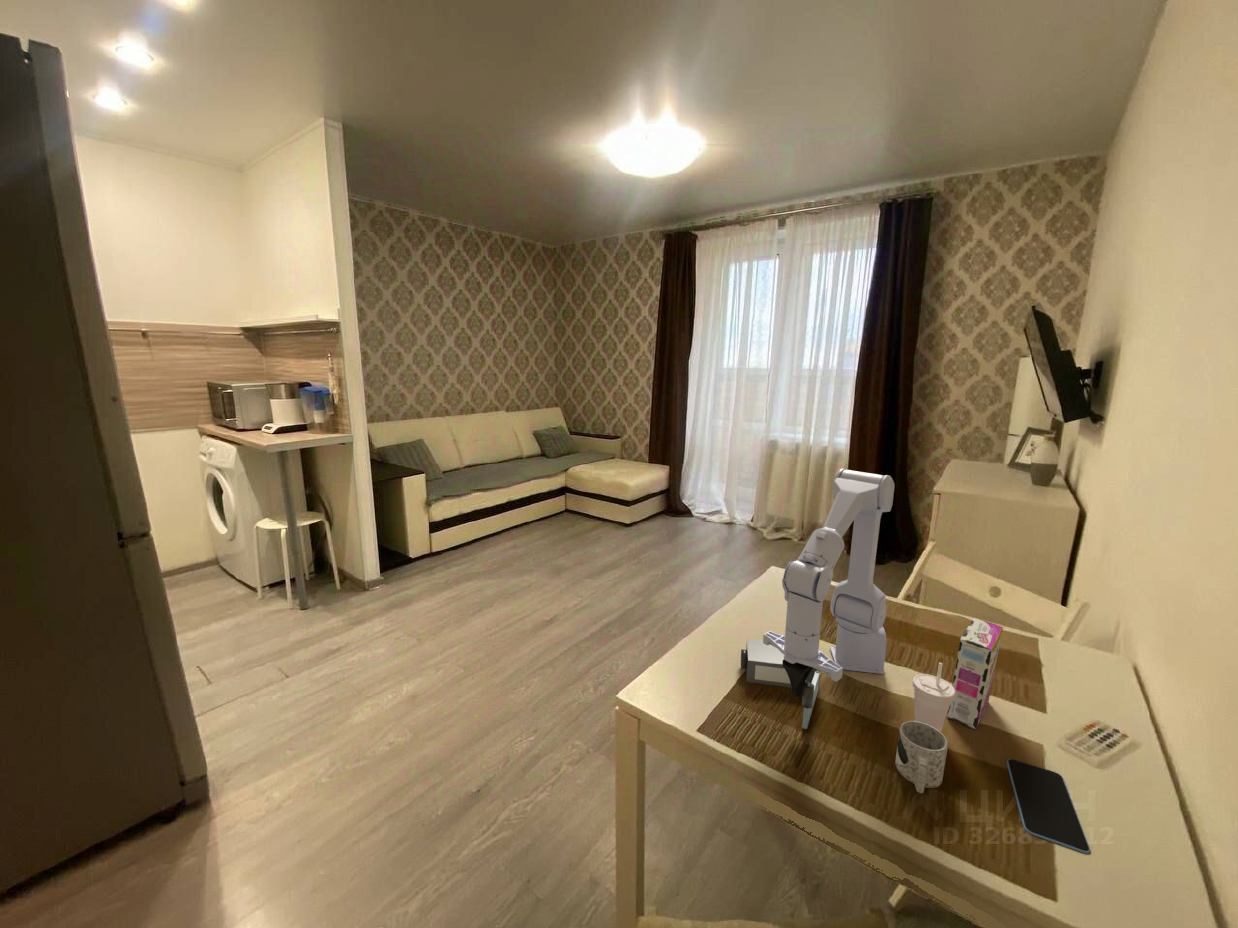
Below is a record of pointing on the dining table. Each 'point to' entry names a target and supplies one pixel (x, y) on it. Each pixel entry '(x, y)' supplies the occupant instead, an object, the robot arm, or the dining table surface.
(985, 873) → the dining table surface
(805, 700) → the side door
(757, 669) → the camera housing
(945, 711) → the smoothie
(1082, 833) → the smartphone
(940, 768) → the mug
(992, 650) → the candy bar box
